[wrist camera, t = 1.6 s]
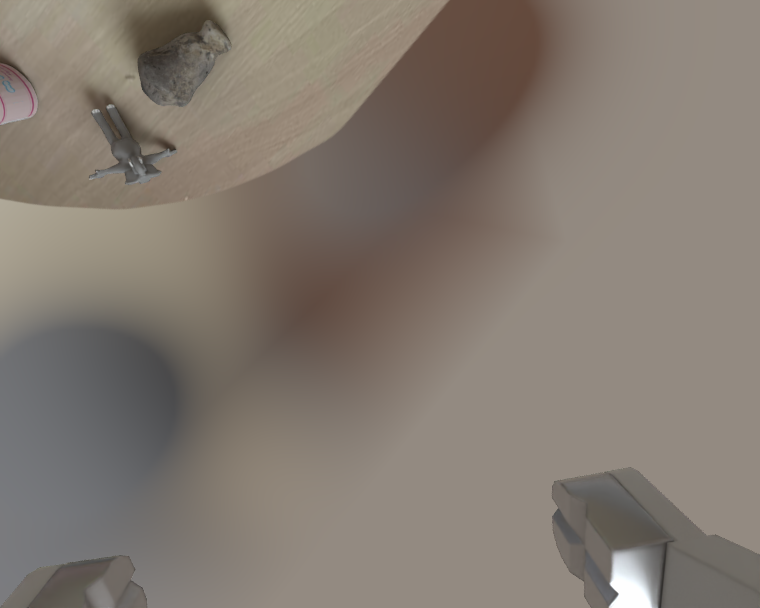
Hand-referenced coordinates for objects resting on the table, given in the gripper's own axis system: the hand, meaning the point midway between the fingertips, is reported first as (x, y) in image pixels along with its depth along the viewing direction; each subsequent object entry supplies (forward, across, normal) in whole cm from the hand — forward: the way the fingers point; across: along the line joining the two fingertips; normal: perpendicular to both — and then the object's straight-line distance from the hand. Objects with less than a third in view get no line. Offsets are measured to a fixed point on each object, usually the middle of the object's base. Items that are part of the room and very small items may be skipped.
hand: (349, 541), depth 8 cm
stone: (+44, +14, -23) cm, 52 cm away
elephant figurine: (+48, +24, -16) cm, 56 cm away
